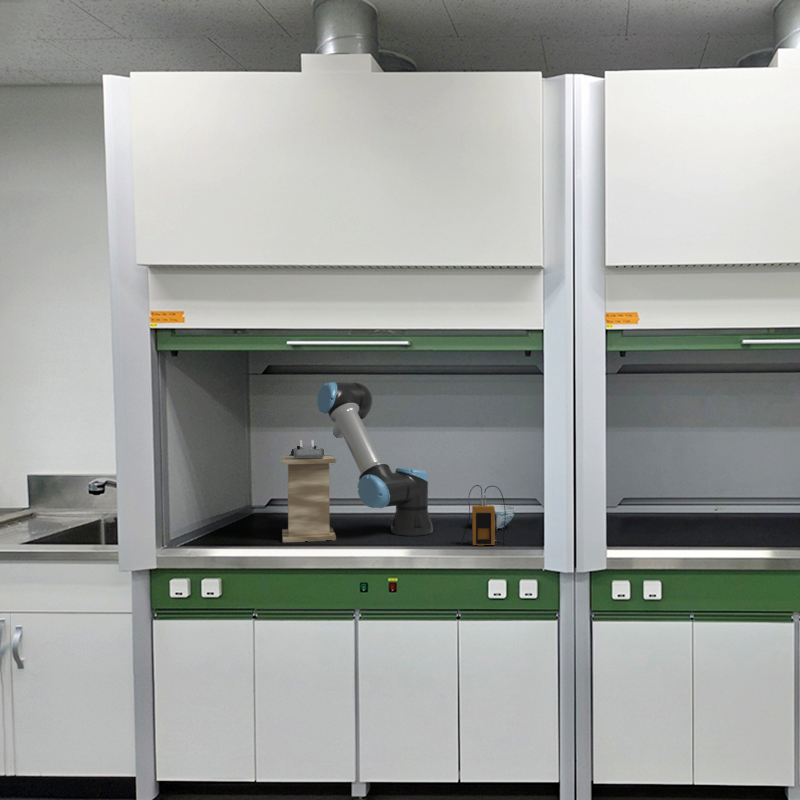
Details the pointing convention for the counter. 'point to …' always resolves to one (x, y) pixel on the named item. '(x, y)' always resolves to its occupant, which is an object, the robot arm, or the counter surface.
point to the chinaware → (503, 514)
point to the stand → (308, 499)
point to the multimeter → (484, 522)
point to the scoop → (308, 452)
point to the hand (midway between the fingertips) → (306, 443)
